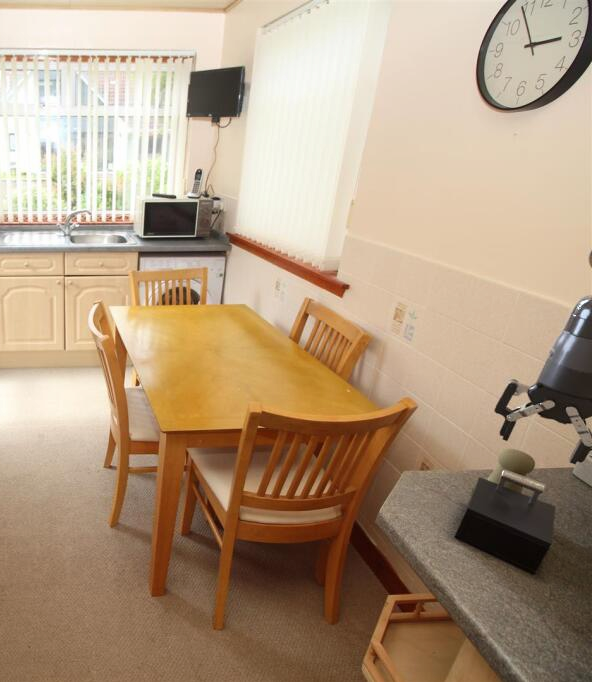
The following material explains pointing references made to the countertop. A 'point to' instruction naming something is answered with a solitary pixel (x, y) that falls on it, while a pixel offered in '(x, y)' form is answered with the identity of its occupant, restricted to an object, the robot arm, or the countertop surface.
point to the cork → (512, 466)
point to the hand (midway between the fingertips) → (537, 449)
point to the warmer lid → (514, 507)
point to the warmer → (500, 542)
